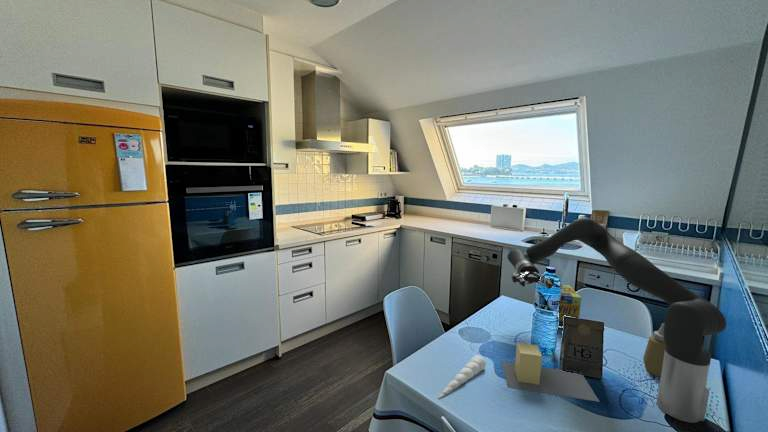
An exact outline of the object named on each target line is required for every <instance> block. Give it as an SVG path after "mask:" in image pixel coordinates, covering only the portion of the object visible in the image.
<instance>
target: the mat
mask: <svg viewBox="0 0 768 432" xmlns="http://www.w3.org/2000/svg"><path fill="white" fill-rule="evenodd" d="M501 366H502V369H503V374H504V378H505V381H506V386H507V388H509V389H515V390H521V391H528V392H534V393H539V394H540V393H541V394H546V395H553V396H554V395H555V396H559V397H564V398H565V397H566V398H573V399H579V400H586V401H590V402H591V401H593V402H598V403H600V402H601V401H600V399H599V398H598V397H597V395H596V394H595V392H594V390H593V389H592V387H591V385H590V384H589V382H588V381H587V379H586V377H585V376H584V375H581V374H577V373H571V372H566V371H567V370H566V371H563V370H564V369H557V368H551V367H543V366H541V372H540V382H539V384H532V383H525V382H519V381H518V379H517V376H516V373H515V362H508V361H501Z"/></svg>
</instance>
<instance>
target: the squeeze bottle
mask: <svg viewBox="0 0 768 432" xmlns="http://www.w3.org/2000/svg"><path fill="white" fill-rule="evenodd" d="M663 334H664V323H661V325H660V327H659V329H658V330H654V331H653V334H652V336H649V338H648V341H647V344H646V347H645V351H644V354H643V358H642V360H643V364H644V368H645V370H646V372H647V373H649V374H650V375H652V376H655V377H658V378H661V372H662V366H663V360H664V353H665V347H666V345H665V342H664V338H663Z"/></svg>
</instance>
